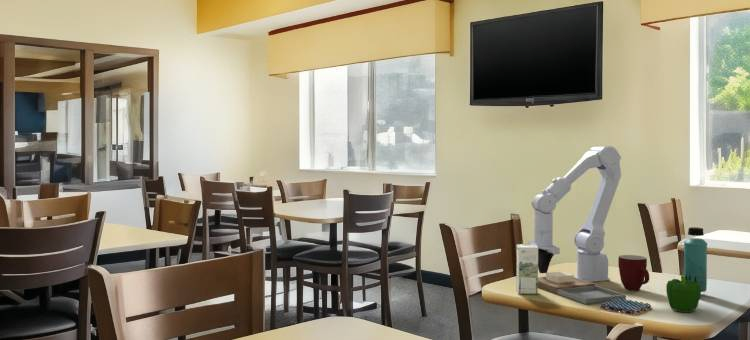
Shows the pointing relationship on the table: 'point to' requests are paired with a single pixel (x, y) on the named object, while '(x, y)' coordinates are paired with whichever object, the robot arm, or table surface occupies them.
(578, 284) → the brown square board
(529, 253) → the syrup box
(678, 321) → the table surface
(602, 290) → the tray
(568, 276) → the tile
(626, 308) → the woven mat
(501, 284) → the table surface
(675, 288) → the bell pepper
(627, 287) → the mug
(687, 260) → the beverage bottle
